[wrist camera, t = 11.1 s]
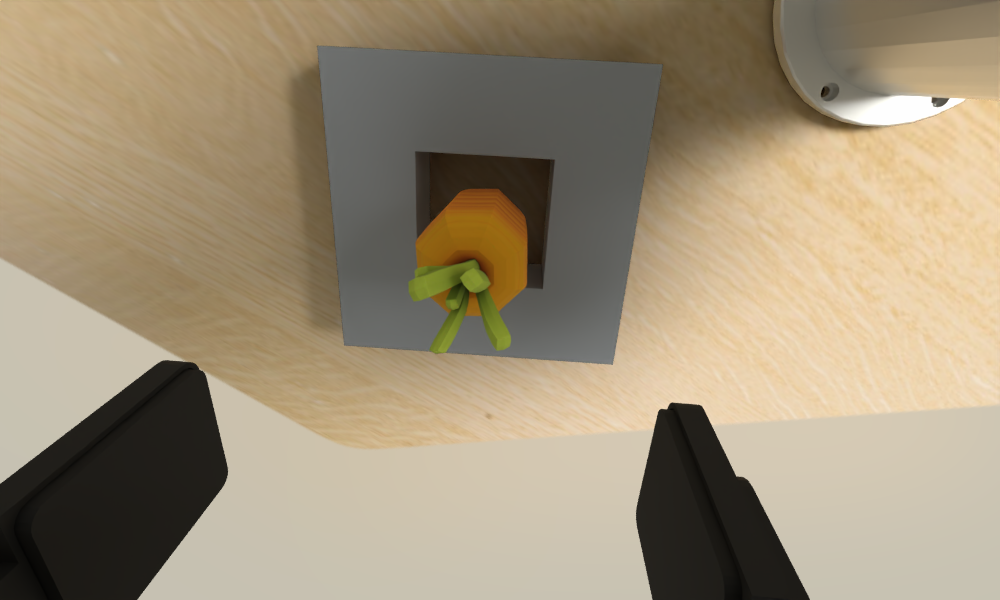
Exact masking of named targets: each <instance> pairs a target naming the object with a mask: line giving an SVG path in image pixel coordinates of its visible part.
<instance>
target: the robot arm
mask: <svg viewBox="0 0 1000 600" xmlns="http://www.w3.org/2000/svg"><path fill="white" fill-rule="evenodd" d="M773 29H774V43H775V47H776V51H777V54H778V58H779V62H780V66H781V68H782V70H783V72H784V73H785V75H786V77H787V79H788V81H789V83H790V85H791V86H792V88H793V89H794V90H795V91H796V92H797V93H798V95H799V96H800V97H801V98H802V99H803V100H804V102H806V103H807V104H809V105H810V106H811V107H813V108H814V109H816V110H817V111H818V112H820V113H821V114H823V115H826V116H828V117H831V118H833V119H836V120H838V121H841V122H845V123H851V124H856V125H861V126H877V127H888V126H896V125H903V124H910V123H913V122H917V121H920V120H923V119H926V118H930V117H933V116H936V115H938V114H940V113H942V112H944V111H946V110H948V109H950V108H952V107H954V106H956V105H958V104H960V103H962V102H963V101H965V100H966V99H976V100H996V101H1000V0H775V1H774V10H773ZM823 87H824V88H825V92H824V94H823V95H822V96H821V91H822V89H823ZM227 475H228V467H227V463H226V459H225V454H224V450H223V446H222V442H221V437H220V433H219V429H218V425H217V420H216V416H215V412H214V408H213V404H212V399H211V395H210V391H209V387H208V382H207V378H206V375H205V373H204V372H203V371H201V370H199V368H198V366H197V365H196V364H194V363H192V362H181V361H169V360H165V361H161V362H160V363H158V364H156V365H155V366H154V367H152V368H151V369H150V370H148V371H147V372H146V373H144V374H143V375H142V376H141V377H139V378H138V379H137V380H135V381H134V382H133V383H131V384H130V385H129V386H127V387H126V388H125V389H124V390H122V391H121V392H120V393H119V394H117V395H116V396H114V397H113V398H112V399H110V400H109V401H108V402H107V403H105V404H104V405H103V406H101V407H100V408H99V409H97V410H96V411H95V412H94V413H92V414H91V415H90V416H88V417H87V418H86V419H84V420H83V421H82V422H81V423H79V424H78V425H77V426H75V427H74V428H73V429H71V430H70V431H69V432H67V433H66V434H65V435H64V436H62V437H61V438H60V439H58V440H57V441H56V442H54V443H53V444H52V445H50V446H49V447H48V448H46V449H45V450H44V451H43V452H41V453H40V454H39V455H37V456H36V457H35V458H33V459H32V460H31V461H29V462H28V463H27V464H26V465H24V466H23V467H22V468H20V469H19V470H18V471H16V472H15V473H14V474H13V475H11V476H10V477H9V478H7V479H6V480H5V481H4V482H2V483H1V484H0V600H137V599H138V598H139V597H140V595H141V594H142V593H143V591H144V590H145V589H146V587H147V586H148V585H149V583H150V582H151V581H152V579H153V578H154V577H155V575H156V574H157V573H158V572H159V570H160V569H161V568H162V566H163V565H164V563H165V562H166V561H167V560H168V558H169V557H170V556H171V554H172V553H173V552H174V551H175V549H176V548H177V546H178V545H179V544H180V543H181V541H182V540H183V539H184V537H185V536H186V535H187V533H188V532H189V531H190V530H191V528H192V527H193V526H194V524H195V523H196V522H197V520H198V519H199V518H200V516H201V515H202V514H203V512H204V511H205V510H206V508H207V507H208V506H209V505H210V503H211V502H212V501H213V499H214V498H215V497H216V495H217V494H218V493H219V491H220V490H221V489H222V487H223V486H224V484H225V482H226V479H227ZM636 521H637V529H638V533H639V538H640V542H641V547H642V552H643V557H644V561H645V566H646V571H647V576H648V580H649V585H650V590H651V594H652V599H653V600H810V599H809V597H808V595H807V593H806V591H805V589H804V587H803V585H802V583H801V581H800V579H799V577H798V575H797V573H796V571H795V569H794V567H793V565H792V563H791V562H790V559H789V557H788V556H787V554H786V552H785V550H784V548H783V546H782V544H781V542H780V540H779V538H778V536H777V534H776V532H775V530H774V528H773V526H772V524H771V522H770V520H769V518H768V516H767V515H766V513H765V511H764V509H763V507H762V505H761V503H760V501H759V499H758V497H757V495H756V493H755V491H754V489H753V487H752V486H751V484H750V483H749V481H748V480H747V479H745V478H744V477H736V475H735V473H734V471H733V469H732V467H731V465H730V463H729V460H728V458H727V456H726V454H725V452H724V450H723V448H722V446H721V444H720V442H719V440H718V438H717V436H716V434H715V431H714V429H713V427H712V425H711V423H710V421H709V419H708V417H707V415H706V413H705V411H704V409H703V407H702V406H700V405H694V404H682V403H670V405H669V406H668V409H667V410H666V409H660V410H659V412H658V415H657V420H656V424H655V428H654V433H653V437H652V442H651V446H650V451H649V455H648V459H647V464H646V468H645V473H644V477H643V481H642V486H641V490H640V495H639V499H638V504H637V510H636Z"/></svg>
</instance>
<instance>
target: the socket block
mask: <svg viewBox="0 0 1000 600" xmlns="http://www.w3.org/2000/svg"><path fill="white" fill-rule="evenodd" d="M317 48H318V59H319V70H320V81H321V93H322V104H323V115H324V126H325V137H326V148H327V159H328V171H329V182H330V193H331V204H332V215H333V226H334V237H335V249H336V260H337V271H338V282H339V293H340V304H341V315H342V327H343V338H344V345H346V346H360V347H374V348H388V349H402V350H416V351H430V350H429V349H430V347H431V345H432V343H433V341H434V339H435V337H436V335H437V334H438V332H439V330H440V328H441V327H442V325H443V323H444V322H445V320H446V318H447V317H448V315H449V313H448V312H446V311H445V310H444V309H443V308H442V307H441V306H440V305H438V304H437V303H436V302H435V301H434V300H433V299H432V298H430V297H429V298H426V299H423V300H421V301H413V299H412V298H411V296H410V294H409V285H408V282H409V281H411V280H413V279H415V270H416V269H417V268H418V267H417V256H416V245H415V243H416V240H417V238H418V237H419V236H420V235H421V234H422V232H423V231H424V230H425V229H426V227H427V226H428V225H429V224H430V152H438V153H454V154H471V155H487V156H504V157H521V158H537V159H551V163H550V174H549V185H548V196H547V207H546V219H545V230H544V241H543V252H542V263H541V264H528V263H527V285H526V287H525V288H524V289H523V290H522V291H521V292H520V293H519V294H517V295H516V296H515V297H514V298H513V299H512V300H511V301H510V302H509V303H507V304H506V305H505V306H504V307H503V308H502V309H501V310H500V311H499V314H500V316H501V318H502V320H503V322H504V323H505V325H506V327H507V329H508V331H509V333H510V335H511V344H510V347H508V348H506V349H504V350H499V351H496V349H495V348H494V346H493V345H492V343H491V341H490V339H489V337H488V335H487V333H486V330H485V327H484V323H483V319H482V316H464V319H463V321H462V323H461V325H460V328H459V330H458V332H457V334H456V336H455V338H454V340H453V342H452V344H451V345H450V347H449V348H448V350H447V351H446V353H458V354H472V355H486V356H500V357H514V358H528V359H542V360H555V361H569V362H583V363H597V364H611V365H613V360H614V354H615V348H616V342H617V336H618V330H619V325H620V319H621V313H622V307H623V301H624V295H625V289H626V283H627V277H628V271H629V265H630V259H631V253H632V247H633V241H634V235H635V229H636V223H637V217H638V211H639V205H640V199H641V193H642V187H643V181H644V175H645V169H646V163H647V157H648V151H649V145H650V140H651V134H652V128H653V122H654V116H655V110H656V104H657V98H658V92H659V86H660V80H661V74H662V68H663V64H648V63H629V62H611V61H592V60H574V59H556V58H537V57H519V56H500V55H482V54H463V53H445V52H426V51H408V50H389V49H371V48H353V47H334V46H317ZM430 352H432V351H430Z"/></svg>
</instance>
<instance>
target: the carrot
mask: <svg viewBox="0 0 1000 600" xmlns="http://www.w3.org/2000/svg"><path fill="white" fill-rule="evenodd" d="M415 245H416V256H417V267H418V268H417V269H416V270H415V279H413V280H411V281H409V282H408V285H409V294H410V296H411V298H412V299H413V301H421V300H423V299H426V298H429V297H430V298H432V299H433V300H434V301H435V302H436V303H437V304H438V305H440V306H441V307H442V308H443V309H444V310H445V311H446V312H448V313H449V315H448V317H447V318H446V320H445V322H444V323H443V325H442V327H441V328H440V330H439V332H438V334H437V335H436V337H435V339H434V341H433V343H432V345H431V347H430V349H429V350H430V351H432V352H434V353H436V354H438V353H446V351H447V350H448V348H449V347H450V345H451V344H452V342H453V340H454V338H455V336H456V334H457V332H458V330H459V328H460V325H461V323H462V321H463V319H464V316H482V319H483V323H484V327H485V330H486V333H487V335H488V337H489V339H490V341H491V343H492V345H493V346H494V348H495V349H496V351H499V350H504V349H506V348H508V347H510V344H511V335H510V333H509V331H508V329H507V327H506V325H505V323H504V322H503V320H502V318H501V316H500V314H499V311H500V310H501V309H502V308H503V307H504V306H505V305H506V304H507V303H509V302H510V301H511V300H512V299H513V298H514V297H515V296H516V295H517V294H519V293H520V292H521V291H522V290H523V289H524V288H525V287H526V285H527V225H526V219H525V216H524V215H523V213H522V212H521V211H520V210H519V209H518V208H517V207H516V206H515V205H514V204H513V203H512V202H511V201H510V200H509V199H508V198H507V197H506V196H505V195H504V194H503V193H502V192H501V191H500V190H499V189H466V190H463V191H460V192H459V194H458V195H457V196H456V197H455V198H454V199H453V200H452V201H451V202H450V203H449V204H448V205H447V206H446V207H445V208H444V209H443V210H442V211H441V213H440V214H439V215H438V216H437V217H436V218H435V219H434V220H433V221H432V222H431V223H430V224H429V225H428V226H427V227H426V229H425V230H424V231H423V232H422V234H421V235H420V236H419V237H418V238H417V240H416V243H415Z"/></svg>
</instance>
